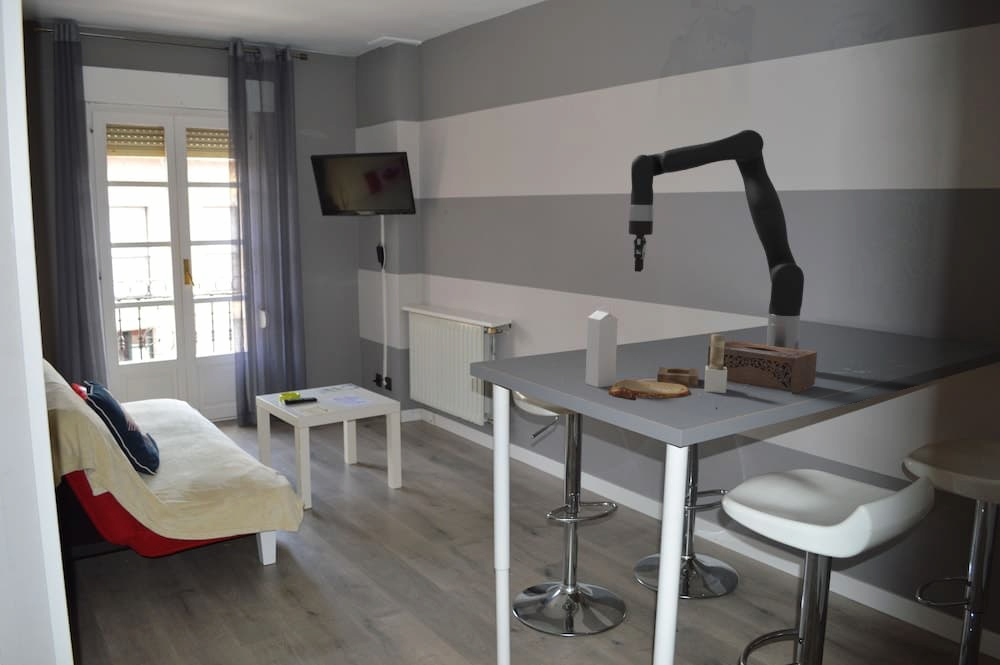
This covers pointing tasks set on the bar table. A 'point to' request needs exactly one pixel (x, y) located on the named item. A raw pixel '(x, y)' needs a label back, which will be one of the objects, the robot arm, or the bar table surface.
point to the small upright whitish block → (715, 380)
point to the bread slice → (647, 390)
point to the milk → (601, 348)
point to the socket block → (678, 376)
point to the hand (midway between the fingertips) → (638, 270)
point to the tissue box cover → (769, 366)
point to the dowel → (717, 351)
